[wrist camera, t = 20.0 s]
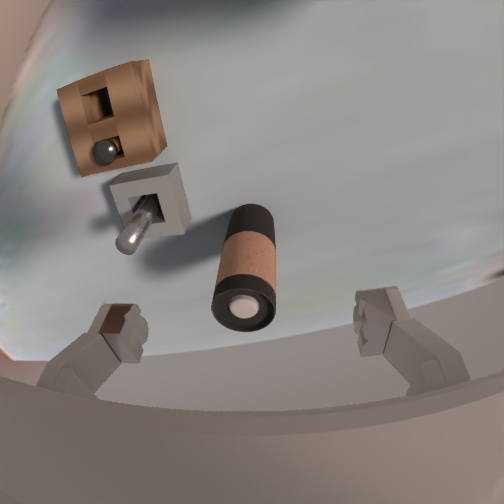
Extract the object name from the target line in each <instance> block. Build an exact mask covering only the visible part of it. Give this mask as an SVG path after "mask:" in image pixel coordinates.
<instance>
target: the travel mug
mask: <svg viewBox="0 0 504 504" xmlns="http://www.w3.org/2000/svg"><path fill="white" fill-rule="evenodd" d="M211 310H212V313H213V315H214V317H215V319H216V320H217V321H218V322H219V323H220V324H221V325H223V326H225V327H226V328H229V329H231V330H234V331H239V332H253V331H257V330H260V329H263V328H265V327H266V326H268V325H269V324H270V323H271V322H272V320H273V319H274V317H275V313H276V245H275V231H274V221H273V217H272V215H271V213H270V212H269V211H268V210H267V209H266V208H264V207H262V206H260V205H257V204H247V205H243V206H241V207H239V208H238V209H237V210H236V211H235V212H234V213H233V215H232V217H231V220H230V224H229V227H228V231H227V234H226V238H225V242H224V245H223V250H222V255H221V260H220V265H219V270H218V275H217V280H216V285H215V291H214V296H213V301H212V305H211Z"/></svg>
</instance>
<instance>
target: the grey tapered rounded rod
mask: <svg viewBox="0 0 504 504" xmlns="http://www.w3.org/2000/svg"><path fill="white" fill-rule="evenodd" d="M160 208H161V205H160V202H159V199H158V195H157V193H154V194H148V195H147V197H146V198H145V199H144V201H143V202H142V203H141V205H140V206H139V208H138V209H137V210H136V212H135V213H134V215H133V216H132V217H131V219H130V220H129V222H128V223H127V224H126V226H125V227H124V229H123V230H122V232H121V233H120V235H119V236H118V238H117V239H116V242H115V243H116V247H117V249H118V250H119V251H120V252H121V253H123V254H126V255H131V254H133V253H134V252H135V251H136V249H137V247H138V246H139V244H140V242H141V240H142V239H143V237H144V235H145V233H146V232H147V230H148V228H149V227H150V225H151V223H152V222H153V220H154V218H155V217H156V215H157V213H158V212H159V210H160Z"/></svg>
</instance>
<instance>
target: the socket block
mask: <svg viewBox="0 0 504 504" xmlns="http://www.w3.org/2000/svg"><path fill="white" fill-rule="evenodd" d="M106 87H107V89H108V93H109V97H110V102H111V106H112V110H113V113H111V114H110V112H109V108H108V104H107V99H106V95H105V91H104V88H106ZM57 94H58V98H59V102H60V106H61V110H62V114H63V117H64V121H65V125H66V128H67V132H68V135H69V139H70V142H71V145H72V149H73V152H74V155H75V158H76V161H77V164H78V167H79V170H80V173H81V176H82V177H84V176H88V175H92V174H96V173H100V172H105V171H109V170H113V169H118V168H123V167H127V166H132V165H137V164H142V163H147V162H152V161H153V160H154V159H155V158H156V157H157V156H158V155H159V154H160V153H161V152H162V151H163V150H164V149H165V148H166V147H167V142H166V138H165V134H164V130H163V125H162V121H161V116H160V112H159V107H158V102H157V98H156V93H155V88H154V83H153V79H152V74H151V68H150V63H149V60H140V61H132V62H127V63H124V64H121V65H118V66H115V67H112V68H110V69H107V70H104V71H101V72H98V73H96V74H93V75H91V76H88V77H85V78H83V79H81V80H78V81H76V82H73V83H71V84H69V85H66V86H64V87H62V88H60V89H57ZM115 136H119V137H120V141H121V145H122V148H123V149H122V150H121V151H120V152H118V156H117V158H116V160H115V161H114V162H113V163H111V164H110V165H108V166H101V165H99V164H98V163H96V161H95V160H94V158H93V155H92V149H93V147H94V145H95V144H96V143H97V142H99V141H100V140H102V139H111V138H112V137H115Z"/></svg>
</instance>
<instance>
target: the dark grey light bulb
mask: <svg viewBox="0 0 504 504" xmlns="http://www.w3.org/2000/svg"><path fill="white" fill-rule="evenodd" d="M122 149H123V148H122V145H121V141H120V137H119V136H115V137H112V138H111V139H102V140H100V141H99V142H97V143H96V144H95V145H94V147H93V149H92V155H93V158H94V160H95V161H96V163H98V164H99V165H101V166H108V165H110V164H111V163H113V162H114V161H115V160H116V158H117V156H118V152H120V151H121V150H122Z"/></svg>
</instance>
